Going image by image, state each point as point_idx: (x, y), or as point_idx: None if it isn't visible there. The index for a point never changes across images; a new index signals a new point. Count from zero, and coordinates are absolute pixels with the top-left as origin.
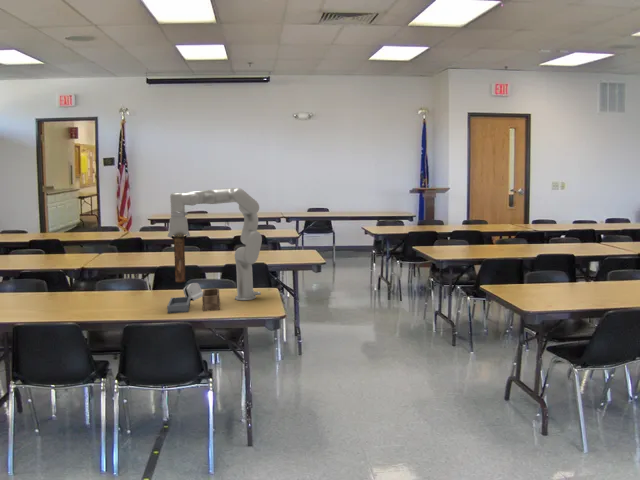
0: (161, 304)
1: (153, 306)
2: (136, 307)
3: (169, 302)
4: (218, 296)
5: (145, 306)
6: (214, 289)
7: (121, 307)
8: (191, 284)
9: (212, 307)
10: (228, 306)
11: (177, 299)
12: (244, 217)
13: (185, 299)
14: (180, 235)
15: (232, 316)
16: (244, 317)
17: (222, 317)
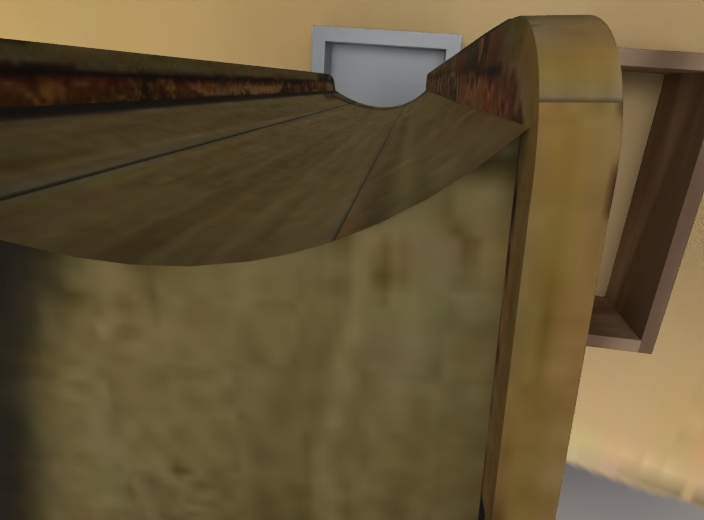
0: (254, 2)
1: (208, 52)
2: (103, 44)
3: None
4: (647, 351)
5: (155, 32)
6: (694, 69)
7: (7, 7)
8: None
9: None
10: (697, 239)
11: (363, 44)
12: None
13: (423, 48)
14: (245, 248)
15: (643, 465)
16: (696, 503)
17: (588, 462)
